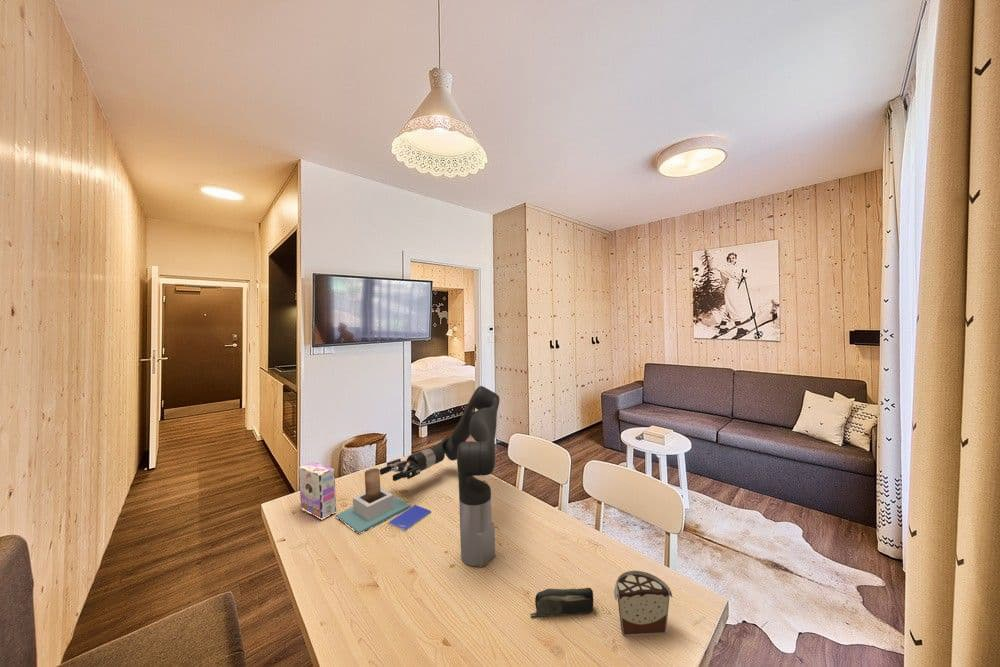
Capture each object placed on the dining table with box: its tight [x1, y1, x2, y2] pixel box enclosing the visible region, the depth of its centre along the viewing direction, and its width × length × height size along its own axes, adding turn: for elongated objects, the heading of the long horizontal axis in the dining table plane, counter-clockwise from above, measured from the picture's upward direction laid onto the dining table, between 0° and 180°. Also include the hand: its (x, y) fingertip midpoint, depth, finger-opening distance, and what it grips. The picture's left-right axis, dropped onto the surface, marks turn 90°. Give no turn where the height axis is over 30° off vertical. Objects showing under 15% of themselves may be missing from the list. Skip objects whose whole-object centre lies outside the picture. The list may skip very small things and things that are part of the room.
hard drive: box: [387, 504, 432, 533], centre depth 118 cm, size 2×8×12 cm
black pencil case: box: [529, 587, 594, 618], centre depth 79 cm, size 5×3×15 cm
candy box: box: [298, 461, 337, 518], centre depth 123 cm, size 14×6×16 cm, turn 58°
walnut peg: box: [364, 468, 381, 504], centre depth 122 cm, size 5×5×14 cm
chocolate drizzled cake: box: [613, 570, 673, 637], centre depth 76 cm, size 12×6×10 cm, turn 92°
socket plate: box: [335, 487, 411, 533], centre depth 122 cm, size 16×20×6 cm
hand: (386, 475), depth 126 cm, fingers open, 8 cm apart
